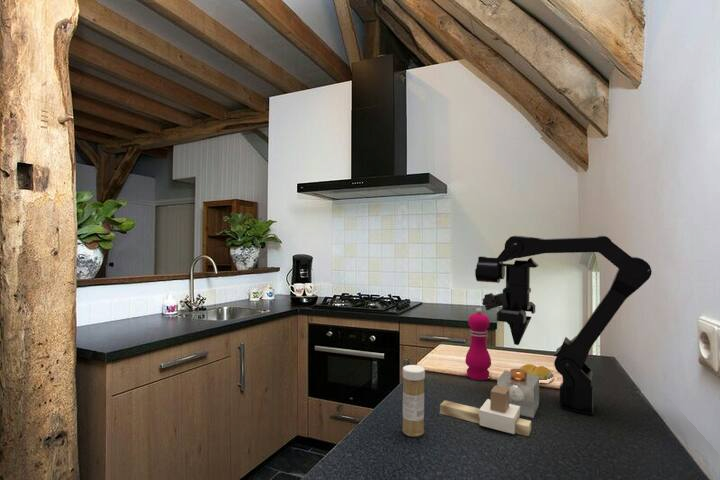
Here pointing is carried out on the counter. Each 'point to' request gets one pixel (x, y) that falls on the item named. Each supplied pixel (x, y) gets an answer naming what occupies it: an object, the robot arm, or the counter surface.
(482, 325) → the pepper mill
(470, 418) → the rail
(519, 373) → the plunger
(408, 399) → the sprinkles bottle
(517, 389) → the cabinet
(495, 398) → the carriage
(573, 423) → the counter surface
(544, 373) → the bread roll
